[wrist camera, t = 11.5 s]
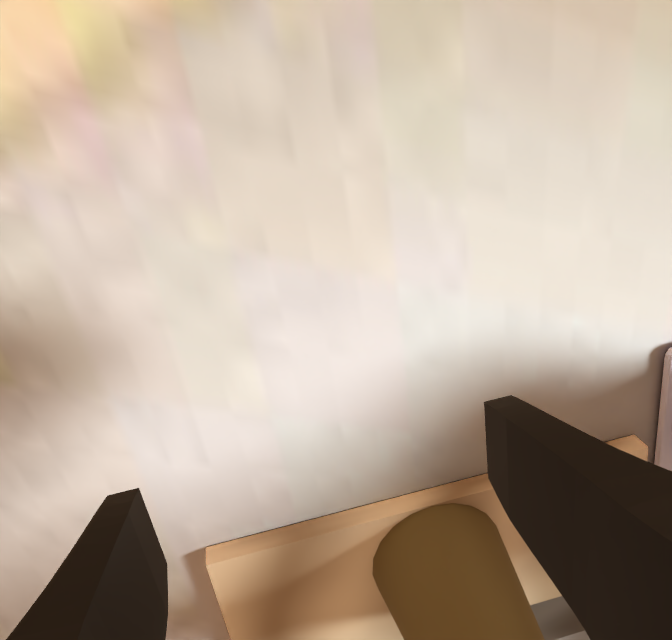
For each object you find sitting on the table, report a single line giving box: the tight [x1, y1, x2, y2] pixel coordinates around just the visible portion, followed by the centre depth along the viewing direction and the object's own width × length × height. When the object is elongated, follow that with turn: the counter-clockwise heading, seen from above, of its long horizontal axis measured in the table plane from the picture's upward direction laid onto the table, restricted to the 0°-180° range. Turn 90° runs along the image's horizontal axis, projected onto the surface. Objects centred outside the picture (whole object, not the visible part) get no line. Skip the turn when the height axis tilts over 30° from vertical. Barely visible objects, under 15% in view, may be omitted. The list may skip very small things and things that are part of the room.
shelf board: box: [206, 435, 648, 640], centre depth 27 cm, size 20×9×3 cm, turn 99°
